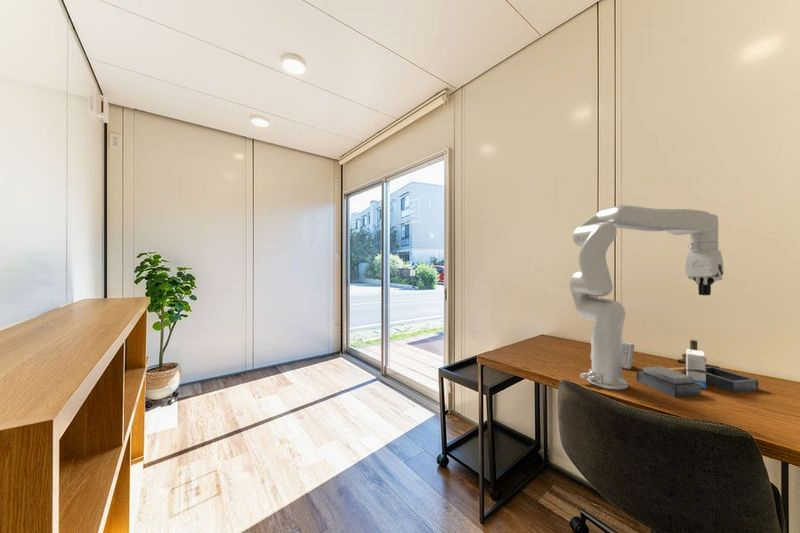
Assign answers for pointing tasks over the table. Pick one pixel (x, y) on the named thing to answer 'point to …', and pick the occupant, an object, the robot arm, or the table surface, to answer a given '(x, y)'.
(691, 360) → the ink box
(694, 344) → the industrial component
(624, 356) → the digital clock
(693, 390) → the grey case and lid
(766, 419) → the table surface
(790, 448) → the table surface
